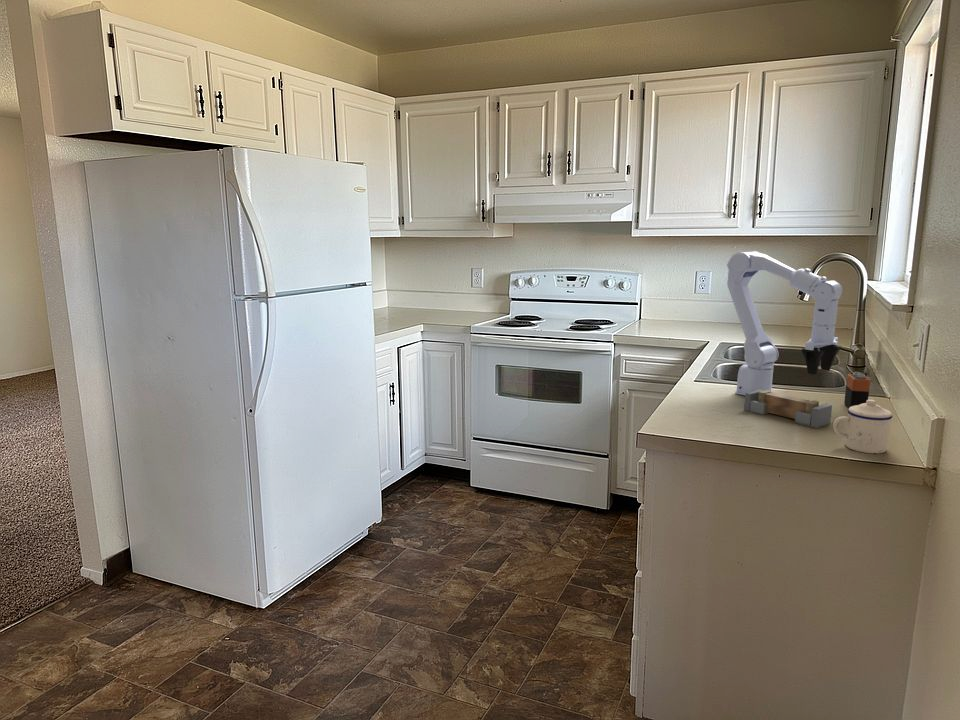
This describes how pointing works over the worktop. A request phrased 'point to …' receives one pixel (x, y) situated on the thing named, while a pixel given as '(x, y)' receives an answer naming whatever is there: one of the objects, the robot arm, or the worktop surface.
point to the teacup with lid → (866, 427)
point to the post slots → (816, 419)
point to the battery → (856, 389)
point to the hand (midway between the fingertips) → (818, 371)
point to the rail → (785, 404)
